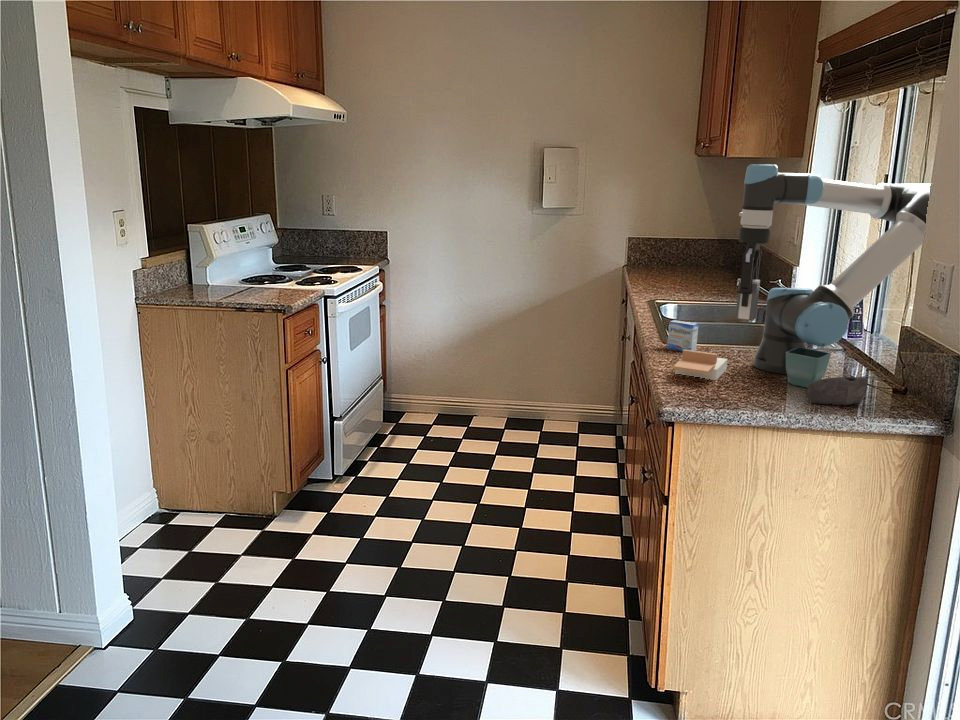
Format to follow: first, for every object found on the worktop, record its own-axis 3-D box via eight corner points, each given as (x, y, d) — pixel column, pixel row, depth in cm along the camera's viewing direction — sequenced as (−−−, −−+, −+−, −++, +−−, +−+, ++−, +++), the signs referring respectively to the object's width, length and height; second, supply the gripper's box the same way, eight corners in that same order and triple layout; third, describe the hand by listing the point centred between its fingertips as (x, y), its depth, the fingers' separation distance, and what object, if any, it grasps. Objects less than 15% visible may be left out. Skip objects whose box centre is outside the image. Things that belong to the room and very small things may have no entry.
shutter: (716, 365, 216) (717, 353, 215) (707, 374, 207) (708, 361, 206) (682, 361, 220) (684, 349, 219) (673, 369, 211) (674, 356, 210)
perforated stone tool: (808, 406, 193) (812, 378, 192) (800, 400, 198) (804, 372, 197) (871, 408, 193) (875, 381, 191) (861, 402, 198) (865, 375, 196)
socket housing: (726, 369, 225) (727, 359, 225) (715, 380, 213) (717, 369, 213) (687, 363, 230) (688, 353, 230) (674, 374, 218) (675, 363, 217)
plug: (756, 317, 210) (760, 279, 208) (753, 320, 207) (757, 282, 204) (738, 315, 212) (742, 278, 210) (735, 318, 209) (739, 280, 206)
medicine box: (666, 348, 248) (669, 321, 246) (671, 346, 252) (674, 319, 249) (691, 353, 244) (693, 325, 242) (696, 350, 247) (699, 322, 245)
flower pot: (814, 392, 206) (819, 358, 203) (780, 384, 211) (785, 351, 209) (827, 385, 212) (831, 352, 210) (793, 378, 218) (798, 346, 216)
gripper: (746, 223, 213) (737, 310, 219) (733, 228, 198) (723, 320, 204) (776, 225, 210) (765, 313, 215) (765, 230, 194) (754, 324, 200)
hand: (745, 316), depth 209 cm, fingers closed on plug, 4 cm apart
